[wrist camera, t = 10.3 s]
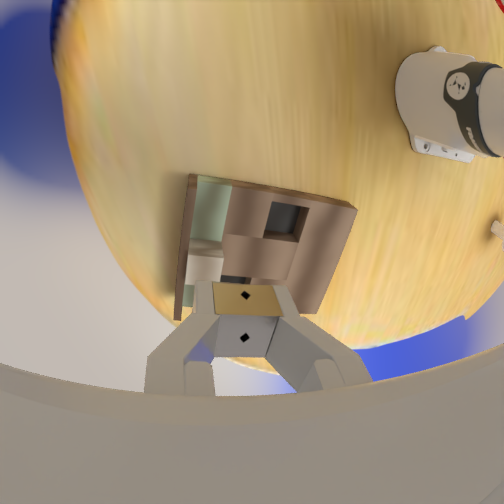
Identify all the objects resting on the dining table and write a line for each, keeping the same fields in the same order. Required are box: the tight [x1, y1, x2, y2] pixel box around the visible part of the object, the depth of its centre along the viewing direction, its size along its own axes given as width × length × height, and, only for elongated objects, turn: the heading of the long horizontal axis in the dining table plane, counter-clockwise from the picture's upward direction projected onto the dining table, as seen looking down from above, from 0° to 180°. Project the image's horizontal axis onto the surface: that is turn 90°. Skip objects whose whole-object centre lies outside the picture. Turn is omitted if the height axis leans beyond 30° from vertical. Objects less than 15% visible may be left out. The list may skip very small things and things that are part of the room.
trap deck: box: [174, 174, 358, 321], centre depth 38 cm, size 22×18×6 cm
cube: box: [185, 238, 224, 285], centre depth 34 cm, size 4×4×4 cm
